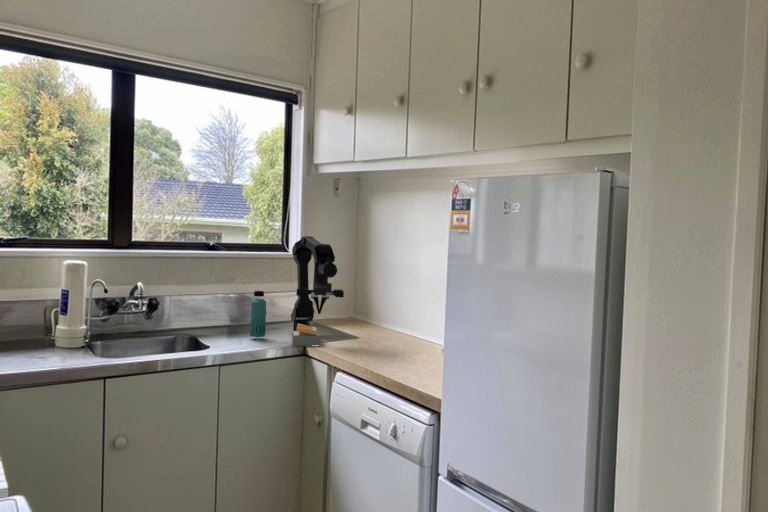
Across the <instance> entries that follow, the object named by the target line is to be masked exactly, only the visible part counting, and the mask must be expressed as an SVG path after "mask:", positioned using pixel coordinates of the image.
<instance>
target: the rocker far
mask: <svg viewBox="0 0 768 512" xmlns="http://www.w3.org/2000/svg"><path fill="white" fill-rule="evenodd" d="M297 326H300V327H305V328H311V329H316V330H317V329H318V328H317V327H315V326H312V325H311V326H307V325H303V324H299V323H298V324H297ZM317 331H318V330H317Z"/></svg>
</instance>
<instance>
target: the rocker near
mask: <svg viewBox="0 0 768 512" xmlns="http://www.w3.org/2000/svg"><path fill="white" fill-rule="evenodd" d="M296 331H298V332H303V333H309V334H314V335H316V334H317V332H318V330H316V329H311V328H305V327H300V326H297V330H296Z"/></svg>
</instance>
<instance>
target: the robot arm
mask: <svg viewBox="0 0 768 512" xmlns="http://www.w3.org/2000/svg"><path fill="white" fill-rule="evenodd" d="M291 255H292V256H293V258H292V259H293V260H294V263H295V264H296V267H297V270H296V271H297V273H296V274H297V288H296V296H297V299H296V301H295V303H294V304H293V305H294V307H293V310H292V312H291V314H290V320H291V321H293V329H292V330H293V331H296V330H297V324H298V323H299V324H303V325H307V326H311V327H312V325H311V323H310V322H313V321H314V315H315V308H314V303H315V307H316V310H317V314H318V315H320V314H321V313H322V310H323V308H324V304H325V302H326V301H327V300H329V299H330V296H333V297H335V298H344V296H345V295H344V293H345V292H344V290H343V289H341V288H334V289H332V285H333V284H332V283H331V282H329V279H330V278H334V277H335V276H336V275H337V273H338V267H337V265H336V264H335V263H334V262H335V261H336V260H335V258H336V256H335V253H334V250H333V247H332V245H331V244H328V243H322V242H320V241H319V240H317V239H315V237H314V236H305V235H304V236H302V237H301V239H299V240H298V241H296V242H295V243H294V245H293V246H292V249H291ZM312 257H313V264H314V266H313V267H314V268H313V283H312V284H313V285H312V286H313V287H312V289H309V288H310V287H309V263H310V261H311V259H312ZM309 296H310V297H309ZM319 296H321V297H320V298H321V299H320V300H319ZM311 299H312V300H311ZM313 301H314V302H313ZM319 301H320V303H319ZM293 331H292V333H291V335H292V336H293Z"/></svg>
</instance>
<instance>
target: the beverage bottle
mask: <svg viewBox="0 0 768 512" xmlns="http://www.w3.org/2000/svg"><path fill="white" fill-rule="evenodd" d="M253 296H254V297H265V291H263V290H254V292H253ZM266 318H267V301H266V300H265V298H253V299H252V300H251V301H250V319H249V323H250V324H249V336H250V337H253V338H262V337H265V336H266V330H267V328H266V327H267V326H266V323H267V321H266Z"/></svg>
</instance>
